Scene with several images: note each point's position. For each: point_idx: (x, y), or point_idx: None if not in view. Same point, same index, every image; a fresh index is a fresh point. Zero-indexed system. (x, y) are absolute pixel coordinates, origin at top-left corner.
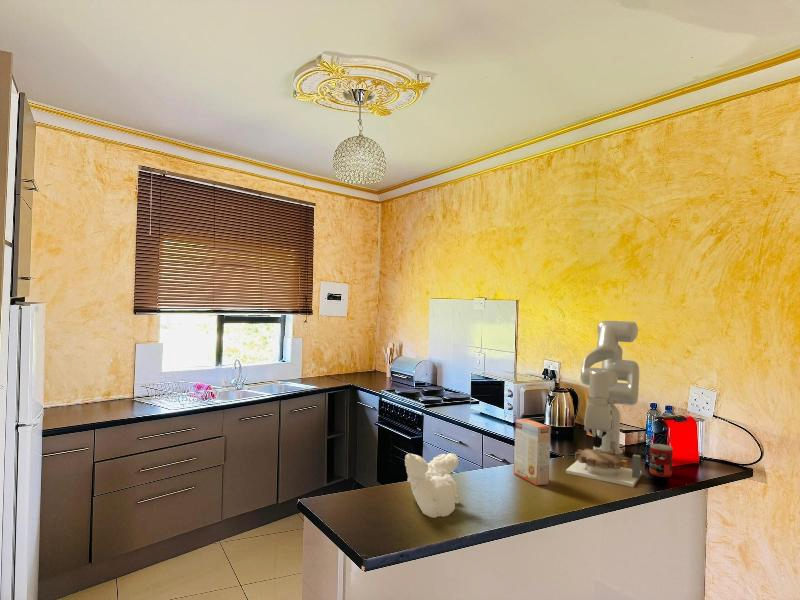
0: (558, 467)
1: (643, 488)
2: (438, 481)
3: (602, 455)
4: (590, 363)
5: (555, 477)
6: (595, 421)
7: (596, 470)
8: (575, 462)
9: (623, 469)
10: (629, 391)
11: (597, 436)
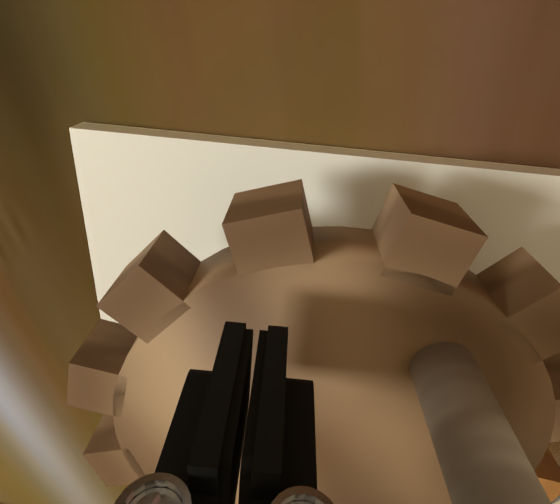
0: (43, 352)
1: (556, 455)
2: None
3: (333, 446)
4: None
5: (119, 494)
6: None
7: None
8: (96, 259)
9: (505, 233)
10: None
11: (216, 497)
